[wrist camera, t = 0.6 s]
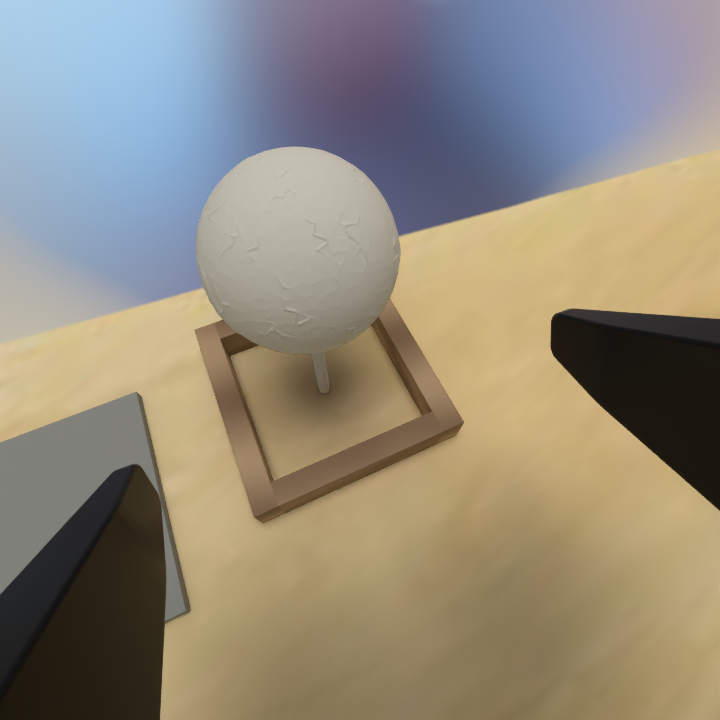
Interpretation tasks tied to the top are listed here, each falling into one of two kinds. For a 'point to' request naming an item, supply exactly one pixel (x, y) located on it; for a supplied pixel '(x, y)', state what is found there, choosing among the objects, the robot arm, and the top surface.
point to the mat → (75, 483)
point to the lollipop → (298, 252)
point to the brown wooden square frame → (345, 465)
